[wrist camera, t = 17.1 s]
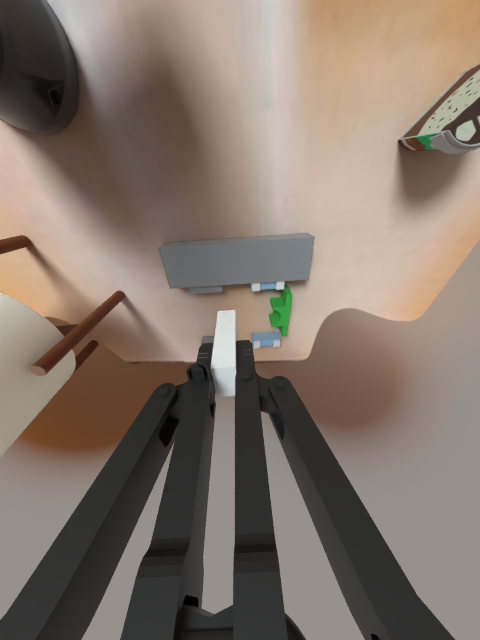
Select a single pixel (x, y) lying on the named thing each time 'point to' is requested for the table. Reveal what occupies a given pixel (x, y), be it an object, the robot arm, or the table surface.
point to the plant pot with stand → (36, 356)
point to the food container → (450, 119)
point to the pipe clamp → (281, 311)
